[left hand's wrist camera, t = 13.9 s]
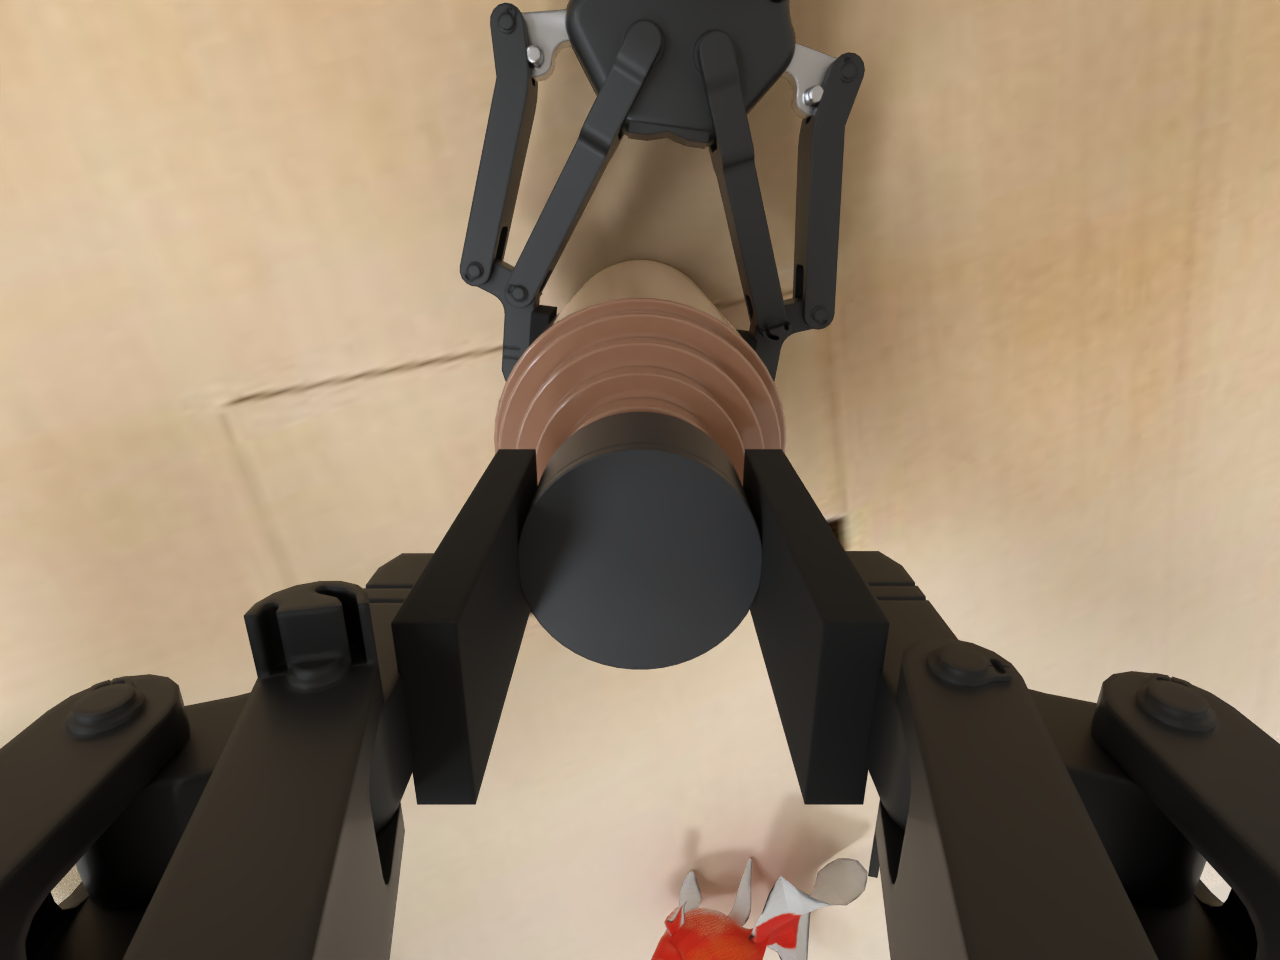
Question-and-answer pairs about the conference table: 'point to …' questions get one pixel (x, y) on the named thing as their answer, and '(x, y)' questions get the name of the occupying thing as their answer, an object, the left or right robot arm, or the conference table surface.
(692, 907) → the fish
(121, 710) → the left robot arm
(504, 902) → the conference table surface
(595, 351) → the bottle
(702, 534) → the cap
